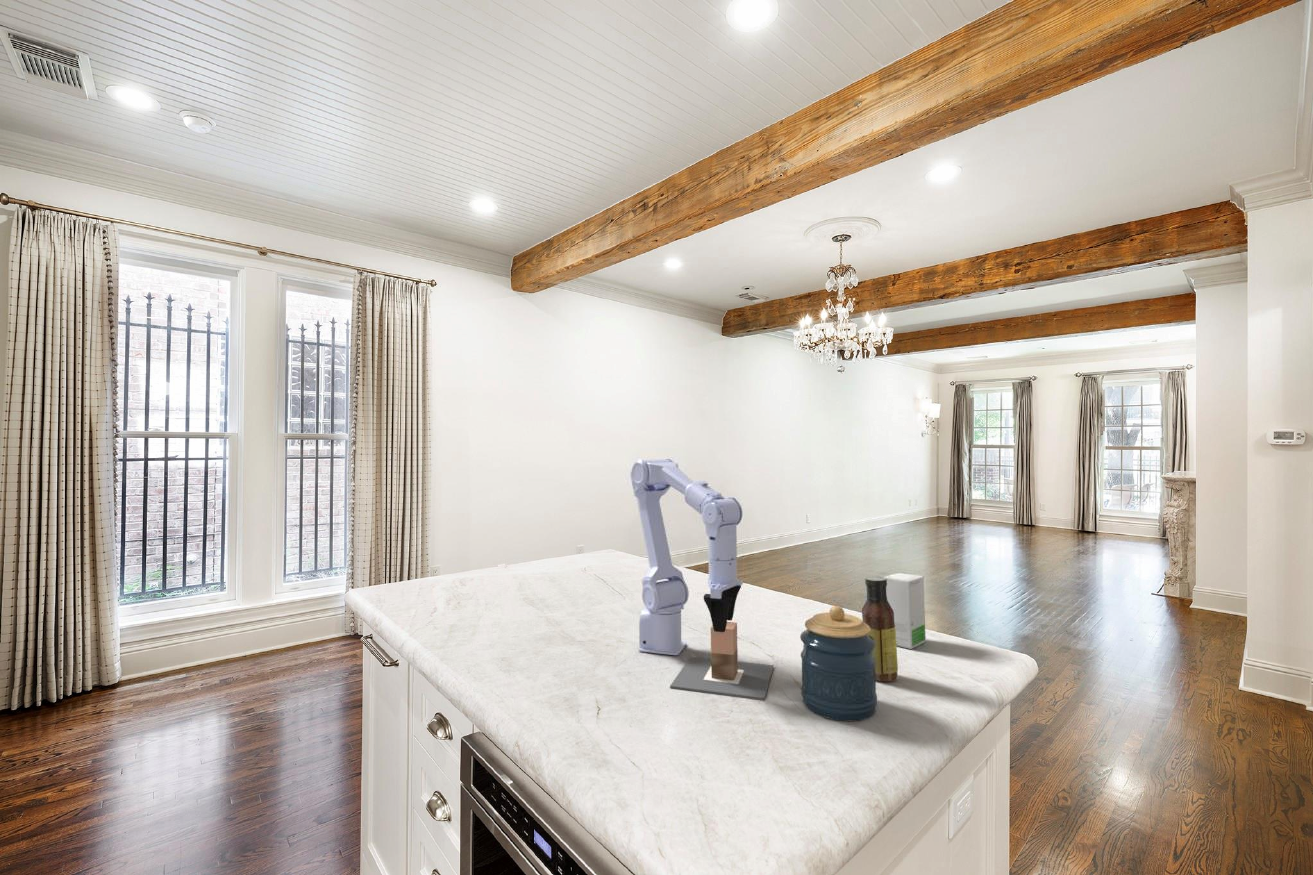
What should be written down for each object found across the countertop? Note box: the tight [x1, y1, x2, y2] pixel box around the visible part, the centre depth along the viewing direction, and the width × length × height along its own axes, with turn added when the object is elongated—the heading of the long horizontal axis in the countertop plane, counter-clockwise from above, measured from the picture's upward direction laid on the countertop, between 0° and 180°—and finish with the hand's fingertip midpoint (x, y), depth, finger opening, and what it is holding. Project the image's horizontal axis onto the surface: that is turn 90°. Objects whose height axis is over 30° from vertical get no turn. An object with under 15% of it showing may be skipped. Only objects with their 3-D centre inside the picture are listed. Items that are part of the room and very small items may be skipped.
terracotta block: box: [710, 621, 738, 655], centre depth 112 cm, size 4×4×5 cm
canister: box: [799, 605, 878, 722], centre depth 99 cm, size 13×13×18 cm
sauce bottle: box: [861, 575, 899, 683], centre depth 111 cm, size 7×6×20 cm
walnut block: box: [710, 648, 739, 680], centre depth 112 cm, size 4×4×5 cm
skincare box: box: [884, 572, 927, 650], centre depth 131 cm, size 8×7×16 cm
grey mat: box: [669, 655, 775, 701], centre depth 112 cm, size 18×16×1 cm
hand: (723, 625), depth 112 cm, fingers open, 7 cm apart
